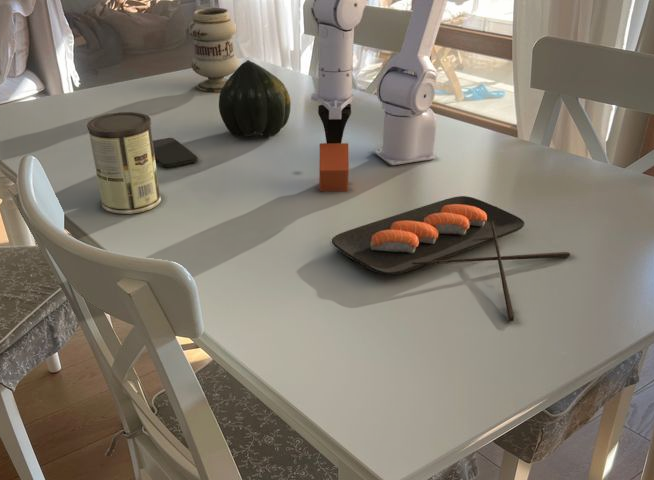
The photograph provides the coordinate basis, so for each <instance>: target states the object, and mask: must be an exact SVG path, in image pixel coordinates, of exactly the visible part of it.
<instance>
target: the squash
mask: <svg viewBox="0 0 654 480" xmlns="http://www.w3.org/2000/svg"><path fill="white" fill-rule="evenodd" d="M227 79H228V80H227V82H226V83H225V85H224V86H223V88H222V90H221V92H219V96H218V110H219V115H220V118H221V120H222V122H223V123H224V126H225V127H226V129H227V130H228V132H230V133H231V135H232V136H235V137H238V138H245V137H248V136H253V135H254V134H257V135H262V136H265V137H266V138H267V137H268V138H272V137H274V136H276V135H278V134H279V133H280V131H281V130H282V129H283V128H284V127H285V126H286V124H287V123H288V121H289V118H290V114H291V106H292V105H291V104H292V102H291V98H290V94H289V91H288V89H287V87H286V85H285V84H284V82H282V80H281V79H279V78H278V77H277V76H275V75H274V74H273V73H272V72H270V71H269V70H267V69H265V68H263V67H262V66H260V65H259V64H257V63H255V62H253V61H251V60H248V59H247V60H246V61H244V62H243V63H241V64H239V66H238V68H237V70H236V71H235V72H233V73H232V74H230V75H229V77H228V78H227Z"/></svg>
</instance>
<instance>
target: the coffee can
mask: <svg viewBox="0 0 654 480" xmlns="http://www.w3.org/2000/svg"><path fill="white" fill-rule="evenodd" d="M151 125H152V118H151V117H150V116H149V115H147V114H145V113H141V112H133V111H123V112H122V111H121V112H120V111H119V112H111V113H106V114H103V115H99V116H96V117H94V118H92V119H90V120H89V121H88V122H86V129H87V131H88V135H89V139H90V145H91V151H92V156H93V162H94V167H95V171H96V178H97V183H98V187H99V188H98V189H99V193H100V194H99V195H100V200H101V206H102V208H103V210H104V211H107V212H109V213H112V214H116V215H117V214H118V215H130V214H131V215H132V214H139V213H143V212H146V211H150V210H152V209H154V208H156V207H157V206H159V204H160V203H161V200H162V197H161V193H160V186H159V179H158V178H159V177H158V169H157V163H156V162H157V161H155V155H154V147H153V140H154V139H153V133H152V126H151Z"/></svg>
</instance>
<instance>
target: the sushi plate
mask: <svg viewBox="0 0 654 480" xmlns="http://www.w3.org/2000/svg"><path fill="white" fill-rule="evenodd" d="M523 227H525V221H524V220H523V219H522V218H520V217H519V216H517V215H515V214H514V213H511V212H509V211H507V210H504V209H502V208H500V207H497V206H495V205H492V204H491V203H488V202H487V201H483V200H481V199H478V198H475V197H472V196H467V195H459V196H453V197H449V198H446V199H445V198H444V199H441V200H438V201H435V202H432V203H429V204H425V205H423V206H420V207H417V208H413V209H410V210H407V211H404V212H401V213H399V214H394V215H392V216H389V217H386V218H382V219H379V220H376V221H373V222H370V223H367V224H364V225H361V226H357V227H354V228H352V229H349V230H346V231H342V232H340V233H338V234H336V235H335V236H333V237H332V238H331V244H332V245H333V246H334V248H335V249H337V250H338V251H339V252H341V253H342V254H344V255H345V256H347V257H349V258H350V259H352V260H353V261H355V262H356V263H358V264H360V265H362V266H363V267H365V268H367V269H369V270H371V271H373V272H375V273H376V274H381V275H383V276H384V275H385V276H395V275H401V274H404V273H407V272H410V271H413V270H416V269H419V268H421V267H425V266H427V265H430V264H444V263H445V264H447V263H466V262H484V261H485V262H487V261H489V262H490V261H497V263H498V268H499V273H500V281H501V285H502V291H503V296H504V303H505V308H506V314H507V318H508V322H514V320H515V319H514V318H515V315H514V310H513V305H512V300H511V296H510V292H509V288H508V287H509V286H508V283H507V278H506V275H505V274H506V273H505V269H504V266H503V261H511V260H512V261H513V260H536V259H537V260H539V259H540V260H541V259H559V258H569V257H570V256H571V253H570V252H569V251H561V252H560V251H557V252H544V253H529V254H514V255H501V253H500V252H501V251H500V247H499V242H498V239H501V238H503V237H505V236H508V235H511V234H513V233H515V232H518V231H519V230H522V229H523ZM493 241H494V247H495V252H496V256H486V257H485V256H484V257H471V258H455V259H453V258H452V259H446V258H449V257H451V256H455V255H457V254H459V253H463V252H465V251H468V250H471V249H473V248H476V247H479V246H481V245H484V244H487V243H490V242H493Z"/></svg>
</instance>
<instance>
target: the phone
mask: <svg viewBox="0 0 654 480" xmlns="http://www.w3.org/2000/svg"><path fill="white" fill-rule="evenodd" d="M153 147H154V155H155V162H157V164H158V165H160V167H162V168H172V167H177V166H181V165H187V164H193V163H197V162H198V156H197V154H195V153H193V151H191V150H189V148H187V147H186V146H184V144H182V143H181V142H179V141H178V140H177V139H176V138H174V137H165V138H160V139H153Z"/></svg>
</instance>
